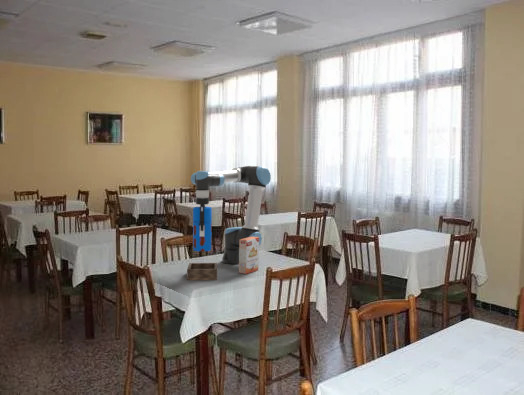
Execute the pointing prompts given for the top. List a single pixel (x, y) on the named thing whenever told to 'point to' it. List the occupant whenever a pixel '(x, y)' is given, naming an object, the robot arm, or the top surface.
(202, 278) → the open wooden box
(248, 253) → the cracker box
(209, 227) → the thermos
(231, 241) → the robot arm
